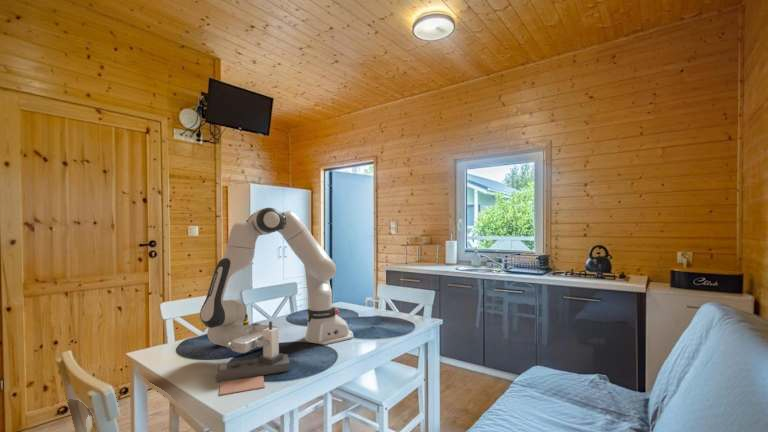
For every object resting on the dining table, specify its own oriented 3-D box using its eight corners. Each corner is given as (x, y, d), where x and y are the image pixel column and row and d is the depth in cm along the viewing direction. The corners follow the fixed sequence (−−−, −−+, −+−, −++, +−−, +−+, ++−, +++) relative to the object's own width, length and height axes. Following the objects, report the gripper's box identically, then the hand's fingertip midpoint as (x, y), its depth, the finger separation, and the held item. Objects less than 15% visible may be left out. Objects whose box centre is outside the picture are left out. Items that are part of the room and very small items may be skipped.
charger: (270, 355, 141) (269, 319, 141) (278, 356, 139) (278, 320, 139) (263, 359, 137) (262, 322, 137) (272, 360, 136) (271, 323, 136)
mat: (263, 376, 132) (263, 375, 132) (264, 387, 123) (264, 386, 123) (221, 383, 127) (221, 382, 127) (219, 395, 118) (219, 394, 118)
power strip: (287, 361, 145) (287, 348, 145) (289, 370, 136) (289, 357, 136) (218, 371, 136) (218, 358, 136) (216, 382, 127) (216, 368, 127)
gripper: (223, 337, 133) (253, 342, 128) (261, 321, 152) (288, 325, 147) (223, 354, 133) (253, 360, 128) (261, 336, 152) (289, 340, 147)
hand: (272, 341), depth 138 cm, fingers closed on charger, 4 cm apart
